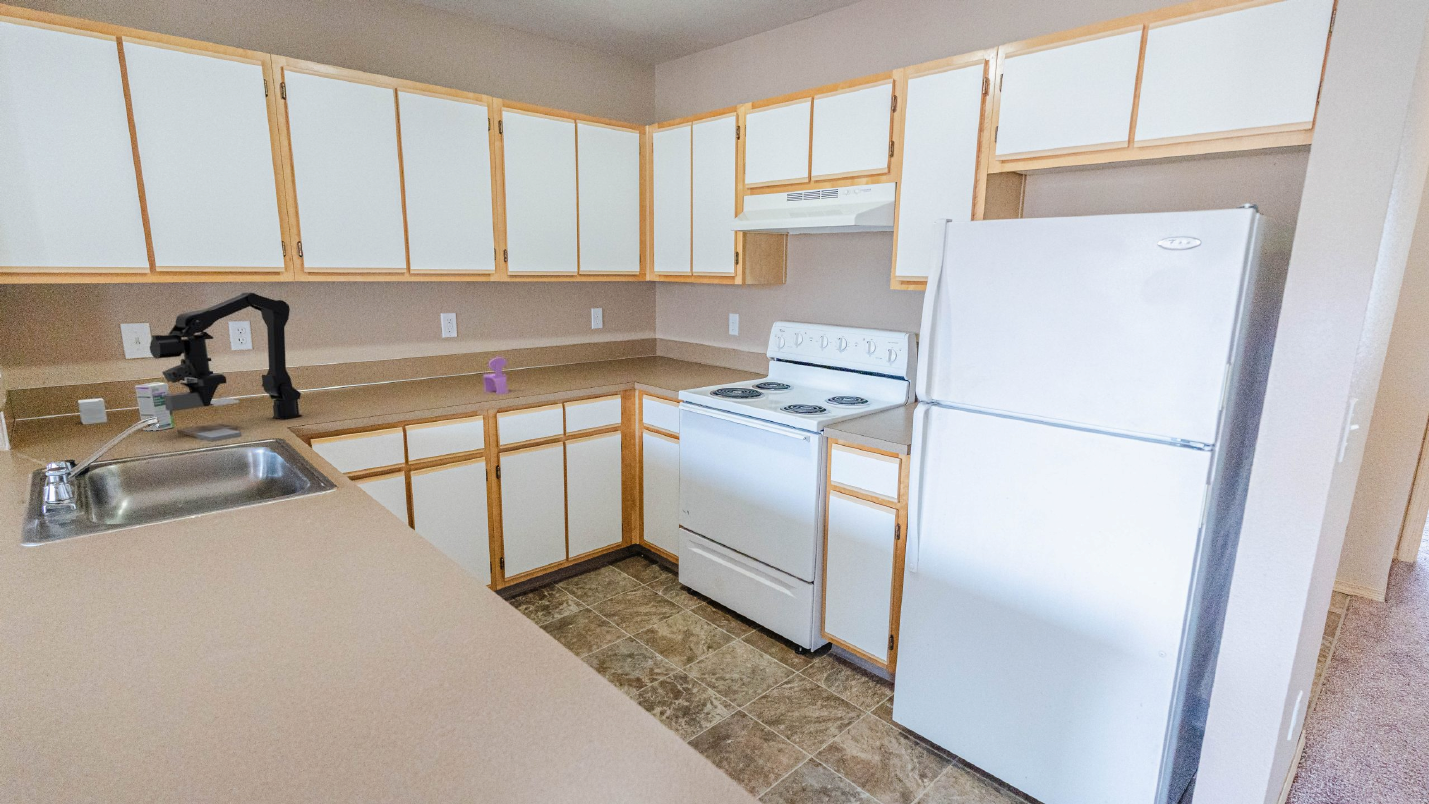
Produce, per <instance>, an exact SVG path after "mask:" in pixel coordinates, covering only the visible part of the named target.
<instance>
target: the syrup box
mask: <svg viewBox="0 0 1429 804" xmlns="http://www.w3.org/2000/svg"><path fill="white" fill-rule="evenodd" d="M134 388H135V393H136V400H137V404H138V409H139V415H140V421H142V420H145V419H148V418H150V417H157V418H158V420H159V426H158V429H157V428H156V427H155V426H152V427H148V428H142V430H143V431H146V430H147V432H151V431H150V430H153V431H152V432H157V431H156V430H159V431H163V430H167V429H171V428H175V421H174V415H173V414H174V413H173V411H169V410H166V407H165V400H164V395H168V394H170V389H169V384H168V383H167V382H160V381H159V382H157V381H156V382H149V383H144V384H137V385H135V386H134Z"/></svg>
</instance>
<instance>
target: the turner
mask: <svg viewBox="0 0 1429 804" xmlns="http://www.w3.org/2000/svg"><path fill="white" fill-rule="evenodd" d="M164 400H165V407H166V410H169V411H172V412H177V411H184V410H189V409H195V408H197V409H198V408H203V407H205V406H204V403H203V400H202V397H201V393H200V390H198V391H191V392H190V391H185V392H177V393H169V394H168V395H164ZM237 403H240V400H238V399H232V398H225V397H224V398H218V399H212V400H211V403H210V405H209V406H208V407H210V406H212V407H217V406H225V405H231V404H237Z"/></svg>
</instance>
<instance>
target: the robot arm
mask: <svg viewBox="0 0 1429 804" xmlns="http://www.w3.org/2000/svg"><path fill="white" fill-rule="evenodd" d="M247 308H252V309H254V310H256V311H259V312H260V315H261V317H262V320H263V322H264V323H265V325H266V327H267V328H266V329H267V330H266V331H267V355H268V356H267V357H268V370H267V372H266V374H262V375H261V381H262V383H261V388H263V391H264V392H265V393H266V394H267V395H268V396H269V398H270V399H271V400H273V404H272V409H273V415H272V418H276V419H281V420H286V419H292V418H297V417H302V416H303V414H301V413H300V409H299V401H298V400H300V399H301V396H302V393H301V392H300V391H299V390H297V389H296V388H294V387H293V384H292V383H293V382H292V379H291V377H290V375H289V372H288V371H287V366H286V364H287V361H286V358H287V357H286V337H285V328H286V327H285V326H286V325H287V323H288V321H289V319H290V318H289V317H290V313H291V312H290V311H291V310H290V308H291V307H290V305H289V304H288V302H286V301H284V300H282V299H273V298H269V297H267V296H266V297H265V296H262V295H260V294H257V293H255V292H242V293H241V294H238V295H237V296H235V297H232V298H229V299H227V300H224V301H222V302H220V303H217V304H214V305H212V306H210V307H207V308H203V309H199V310H194V311H188V312H183V313H180V314H179V315H177V316H176V319H175V323H174V326H173V327H172V328H171V329H170V332H169V333H167V334H163V335H162V334H152V336H151V337H152V338H151V341H150V343H149V351H150V354H151V356H152V357H153V358H154V359H156V360H157V359H169V358H177V357H178V358H179V357H181V355H183V358H181V360H180V364H179V365H175V366H173V367H170V368H168V369H165V370H163V371H161V372H162V375H163V377H164V378H165V380H166V381H167V382H168V383H169V382H170V383H173V384H174V383H175V384H176V383H178V382H179V384H180V385H182V386H183V387H185V388H186V389H188V392H191V391H198V390H200V393H201V397H202V400H203V403H204V407H210V406H209V405H210V403H211V400H213V398H214V395H215V393H216V392H217V391H216V390H217V389H218V387H219V386H220V385H222V384H227V377H226V375H224V374H222V373H214V370H213V371H212V370H211V368H210V362H212V357H209V355H208V347H207V340H213V339H214V336H213V335H211V334H209V333H208V332H207V331H206V330H208V329H209V328H211V327H212V326H213V325H214V324H215V323H216V322H218V321H219V320H221V319H223V318H225V317H228V316H230V315H232V314H235V313H237V312H241V311H242V310H244V309H247ZM181 381H182V382H181Z"/></svg>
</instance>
